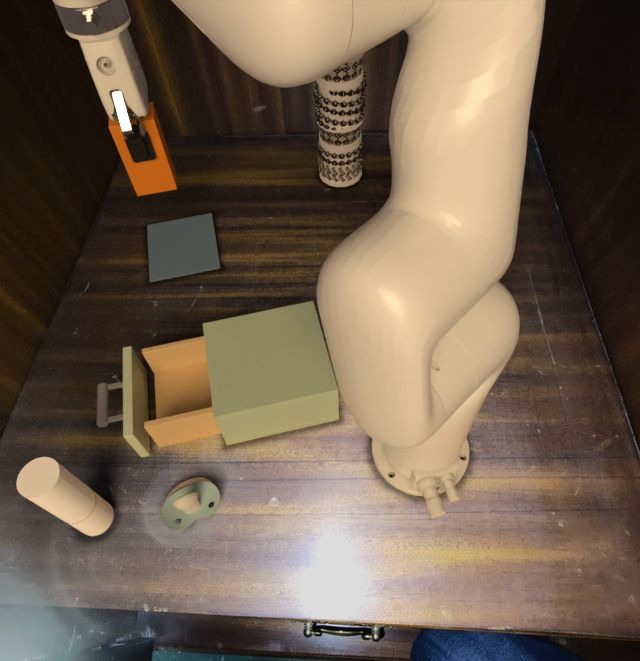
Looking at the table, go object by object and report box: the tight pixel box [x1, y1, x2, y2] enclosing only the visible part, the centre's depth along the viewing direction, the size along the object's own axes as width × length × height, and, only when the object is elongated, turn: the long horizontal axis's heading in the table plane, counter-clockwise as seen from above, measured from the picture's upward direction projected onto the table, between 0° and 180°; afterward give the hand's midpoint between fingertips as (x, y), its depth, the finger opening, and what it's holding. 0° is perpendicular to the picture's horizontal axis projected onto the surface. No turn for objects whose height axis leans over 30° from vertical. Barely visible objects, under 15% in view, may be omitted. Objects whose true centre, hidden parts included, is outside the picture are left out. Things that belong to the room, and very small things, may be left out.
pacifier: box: [160, 477, 221, 531], centre depth 63 cm, size 7×6×6 cm
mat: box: [146, 212, 221, 283], centre depth 92 cm, size 14×12×1 cm
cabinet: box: [202, 300, 340, 446], centre depth 71 cm, size 16×15×9 cm
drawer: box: [96, 335, 222, 459], centre depth 70 cm, size 19×13×7 cm
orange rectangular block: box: [108, 101, 178, 197], centre depth 74 cm, size 4×6×12 cm
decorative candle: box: [312, 53, 368, 188], centre depth 91 cm, size 9×9×25 cm
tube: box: [15, 456, 115, 537], centre depth 59 cm, size 4×4×15 cm
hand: (144, 147), depth 74 cm, fingers closed on orange rectangular block, 4 cm apart
